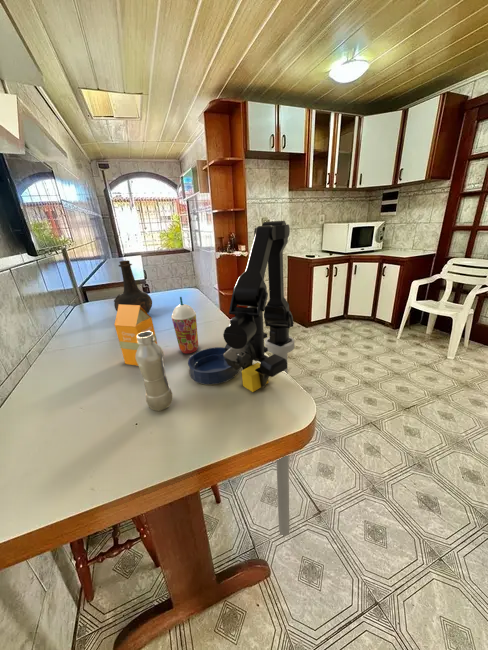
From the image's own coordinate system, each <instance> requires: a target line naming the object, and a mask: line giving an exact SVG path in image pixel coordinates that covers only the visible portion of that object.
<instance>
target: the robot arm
mask: <svg viewBox="0 0 488 650" xmlns="http://www.w3.org/2000/svg"><path fill="white" fill-rule="evenodd" d="M253 232H254V233H253V235H254V236H253V237H254V239H253V242H252V245H251V249H250V253H249V257H248V260H247V264H246V268H245V270H244V272H243V273H241V275H240V276H239V277H238V279H237V281H236V283H235V286H234V287H233V290H232V294H231V299H230V305H229V309H228V315H234V317H232V318H231V319H229V325H227V326H226V327H225V329H224V331H223V334H222V335H223V340H224V342H225V343H226V344H225V346H224V347H225V353H224V355H223V356H224V358H225V360H226V362H227V364H228V365H229V366H231V367H233V368H234V369H236V370H238V369H240V370H241V369H242V370H244V369H246V368H248V367H250V366H252V365H253V364H254V363H253V362H258V363H260V367H259V368H257V369H256V370H255V371H257V372H259V377H260V384H261V387H260V388H262V389H263V388H264V387H266V385H267V384H268V383H267V381H268V382H269V379H270V377H271V378H274V377H275V376H277V375H278V374H280V373H283V372H282V371H284V370H285V369H287V363H288V359H287V360H286V359H285V358H283V357H280V356H278V355H276V354H274V355H273V354H271V355H269V356H268V355H266V353H268V352H269V351H268V348H267V347H265V339H267V338H268V335H269V337H270V339H268V340H267V342H270V343H272V344H275V345H277V346H283V345H285V344H287V343H289V342H291V341H292V339H291V338H289V336H290V329H291V328H293V327H294V316H293V314H292V312H291V310H290V304H289V302H288V301H287V299H286V298H285V290H284V288H285V287H284V286H285V285H284V250H285V248H286V247H287V244H288V243H289V237H290V232H291V228H290V225H289V224H288V223H287V222H286V220H274V221H273V220H272V221H271V220H270V221H263V222H262V224H261V225H258V226H256V227H255V228H254V229H253ZM266 272H267V275H268V276H267V277H268V287H267V284H266V282H265V275H266ZM267 289H268V290H267ZM268 297H269V298H268ZM268 299H269V300H268ZM264 325H265V327H269V331H268V333H269V334H268V333H266V332H264V331H265V330H264ZM266 383H267V384H266Z"/></svg>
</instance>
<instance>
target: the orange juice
mask: <svg viewBox="0 0 488 650" xmlns="http://www.w3.org/2000/svg"><path fill="white" fill-rule="evenodd" d="M113 325H114V329H115V332H116V336H117V339H118V343H119V346H120V350H121V352H122V353H121V354H122V356H123V360H124V364H125V365H128V366H129V365H130V366H131V365H132V366H136V367H137V366H138V364H137V361H136V358H135V357H136V352H137V349H138V347H139V344H138V342H137V341H138V340H137V335H138V334H139V333H142V332H146V331H150V332H152V333H153V336H154V338H155V341H154V342H155V343H156V344H158V339H157V335H156V331H155V327H154V323H153V318H152V317H151V315H149V314H148V313H146V312H145V310H144V309H143V308H142V307H141V306H140V305H122V304H119V306H118V311H116V315H115V320H114V324H113ZM138 367H139V366H138Z"/></svg>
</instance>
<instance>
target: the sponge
mask: <svg viewBox="0 0 488 650" xmlns="http://www.w3.org/2000/svg"><path fill="white" fill-rule="evenodd" d="M260 364H261V362H259V361H256V362H255V363H253V365H252V366H250V367H248V368H246V369H244V370H243V369H242V370H241V378H242V387H244V388H245V389H247V390H248V391H250V392H252V393H254V392H256V391H257V390H259V389H261V388H262V387H261V384H260V377H259V372H257V371H255V370H256V369H257V368H259V367H260ZM267 384H269V380H268V381H267V383H266V385H267Z"/></svg>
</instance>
